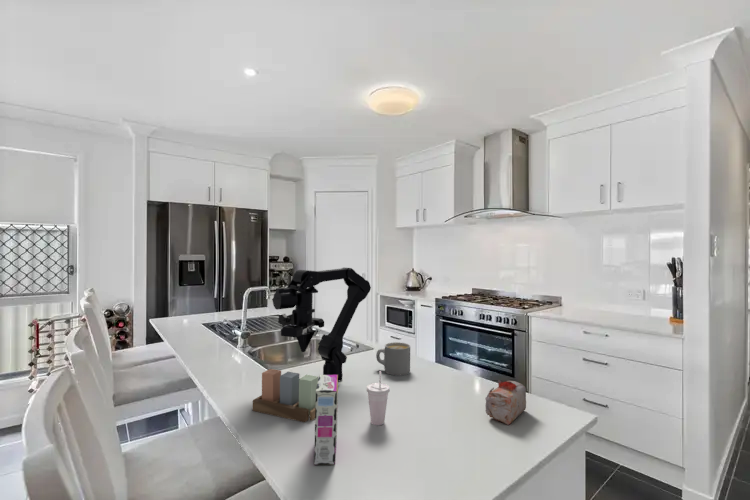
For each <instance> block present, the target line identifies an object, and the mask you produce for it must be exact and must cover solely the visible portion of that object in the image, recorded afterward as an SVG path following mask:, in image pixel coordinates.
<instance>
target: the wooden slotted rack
mask: <svg viewBox="0 0 750 500" xmlns="http://www.w3.org/2000/svg"><path fill="white" fill-rule="evenodd" d="M252 411H253V412H256V413H260V414H265V415H270V416H274V417H279V418H282V419H283V418H284V419H288V420H293V421H296V422H301V423H307V422H308V421H311V422H312V421H315V408H314V409H312V410H311V411H310V416H309V409H305V408H301V407H299V402H297V403H296V404H294V405H293V406H291V405H286V404H281V403H280V398H279V399H278V400H276V401H275V402H271V401H266V400H262V394H261V395H260V396H257V397H256V398H254V399H253V400H252Z"/></svg>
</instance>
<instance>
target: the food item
mask: <svg viewBox="0 0 750 500" xmlns="http://www.w3.org/2000/svg"><path fill="white" fill-rule="evenodd" d="M497 382H498V387H496V388H495V387H492V388H491V389H489V391H488V393H487V395H486V397H485V414H486V415H487V416H489V418H491V419H494V420H495V421H498V422H500V423H502V424H505V425H508V426H509V425H511V423H513V422H514V421H515V420H516V419H517V418H518V417H519V416H520V415H521V414H522V413H524V411H526V409H527V393H526V392H527V390H526V386H524V384H522V383H520V382H518V381H515V380H506V381H501V380H500V379H498V381H497Z"/></svg>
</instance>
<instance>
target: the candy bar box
mask: <svg viewBox="0 0 750 500" xmlns="http://www.w3.org/2000/svg"><path fill="white" fill-rule="evenodd" d="M338 387H339V381H338V375H323V374H319V375H318V383H317V387H316V407H315V419H314V452H313V453H314V454H313V455H314V456H313V457H314V459H313V465H314V466H332V465H333V466H334V465H335V464H336V454H337V440H338V439H337V438H338V408H339V405H338V403H339V402H338V400H339V393H338V392H339V388H338Z"/></svg>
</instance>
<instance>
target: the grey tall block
mask: <svg viewBox="0 0 750 500" xmlns="http://www.w3.org/2000/svg"><path fill="white" fill-rule="evenodd" d="M299 379H300V373H299V372H293V371H287V372H285V373H282V374H281V376H280V403H281V404H286V405H291V406H293V405H294V404H296V403H297V402H299Z"/></svg>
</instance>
